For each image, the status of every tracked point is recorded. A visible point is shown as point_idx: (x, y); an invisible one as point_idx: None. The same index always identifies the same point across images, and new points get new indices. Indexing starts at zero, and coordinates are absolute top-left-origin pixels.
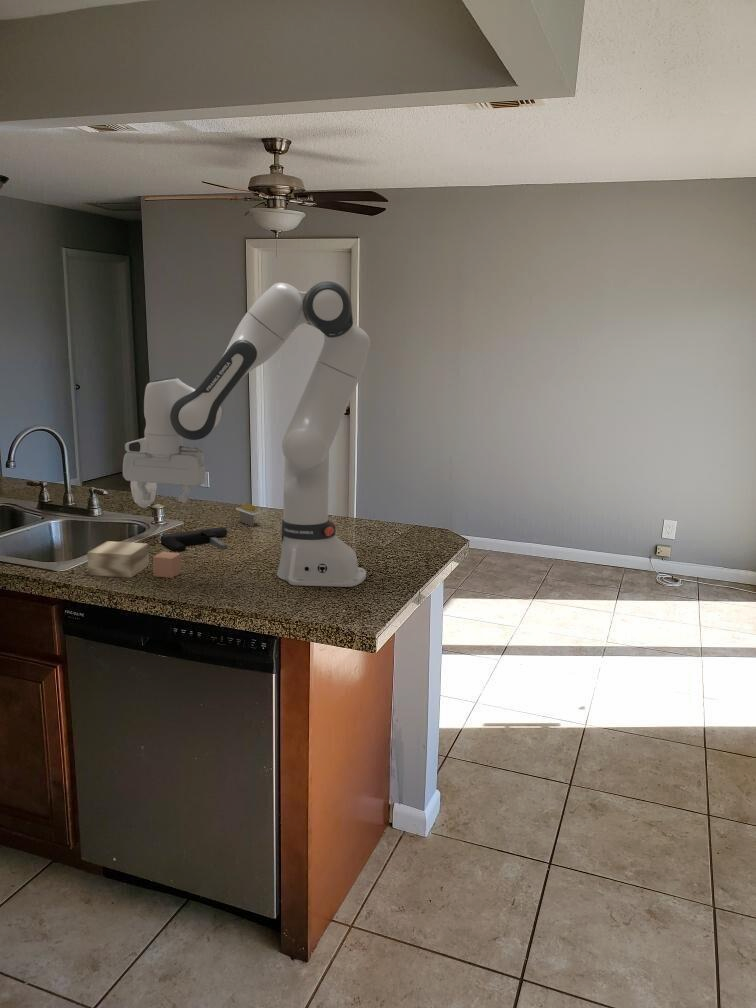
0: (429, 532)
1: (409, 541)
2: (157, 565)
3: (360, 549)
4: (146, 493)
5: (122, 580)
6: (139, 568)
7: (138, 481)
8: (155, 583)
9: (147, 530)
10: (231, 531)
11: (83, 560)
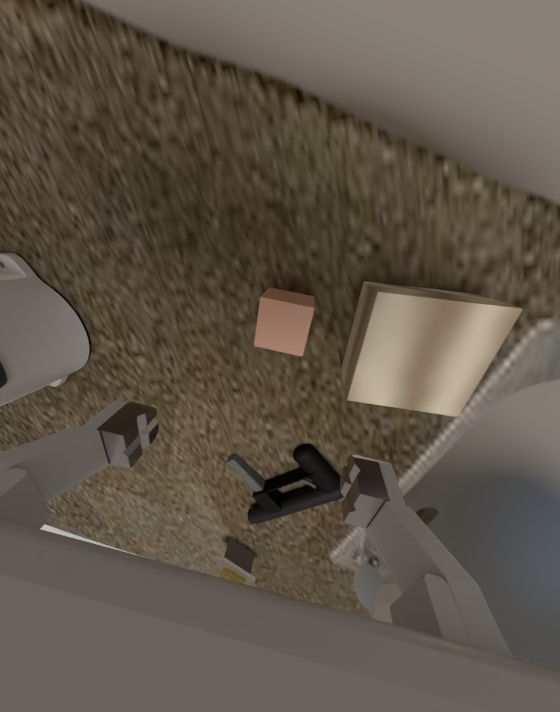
0: None
1: None
2: (302, 300)
3: None
4: (369, 496)
5: (382, 254)
6: (353, 328)
7: (506, 656)
8: (295, 238)
9: None
10: (251, 523)
11: (489, 396)
